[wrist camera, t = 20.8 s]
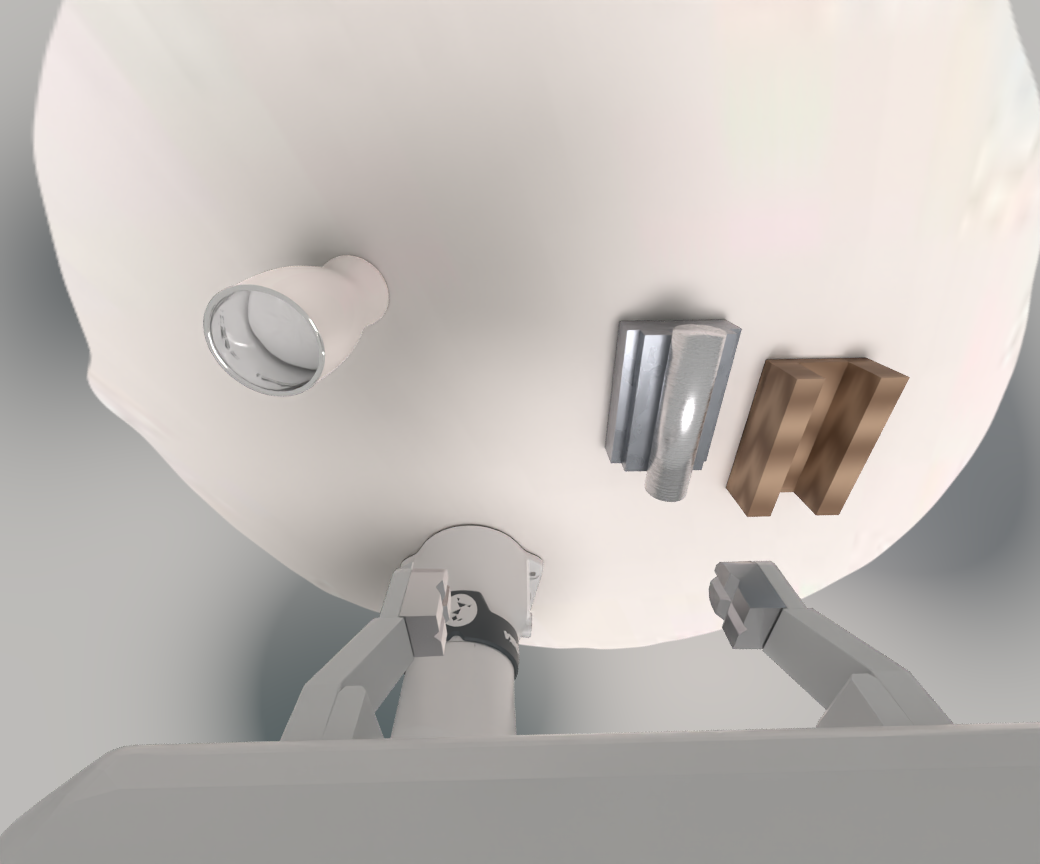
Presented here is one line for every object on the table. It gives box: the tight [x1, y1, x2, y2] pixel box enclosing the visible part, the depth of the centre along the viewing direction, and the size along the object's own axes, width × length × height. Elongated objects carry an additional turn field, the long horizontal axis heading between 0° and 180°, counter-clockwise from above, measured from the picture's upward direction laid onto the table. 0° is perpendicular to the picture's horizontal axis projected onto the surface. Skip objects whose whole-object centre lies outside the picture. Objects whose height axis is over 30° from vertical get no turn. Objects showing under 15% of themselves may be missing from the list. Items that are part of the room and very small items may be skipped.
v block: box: [605, 320, 742, 471], centre depth 39 cm, size 14×10×4 cm
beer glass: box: [203, 255, 389, 396], centre depth 29 cm, size 7×7×15 cm
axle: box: [644, 324, 727, 502], centre depth 36 cm, size 16×4×4 cm, turn 1°
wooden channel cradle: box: [726, 358, 910, 517], centre depth 41 cm, size 16×10×5 cm, turn 1°
